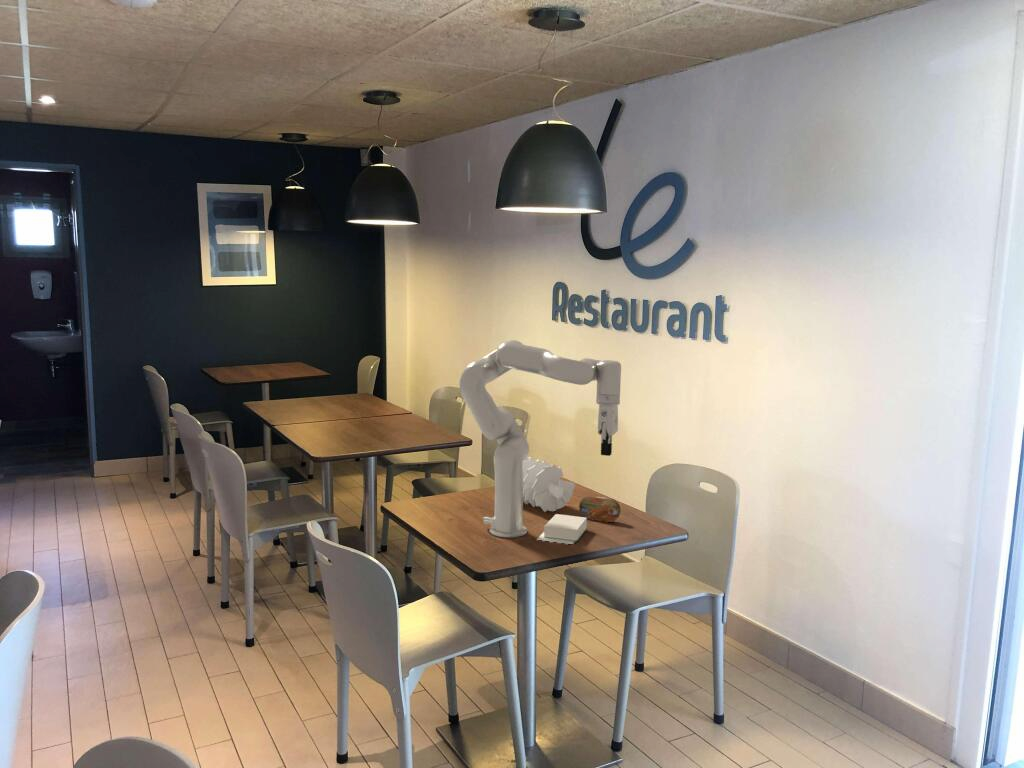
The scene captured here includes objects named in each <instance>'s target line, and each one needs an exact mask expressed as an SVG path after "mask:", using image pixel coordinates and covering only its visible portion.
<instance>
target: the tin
mask: <svg viewBox="0 0 1024 768" xmlns="http://www.w3.org/2000/svg"><path fill="white" fill-rule="evenodd" d="M578 509H579V512H580V514H581V517H585V518H588V519H587V520H589V519H593V520H592V521H596V520H598V521H597V522H602V521H604V522H603V523H608V522H610V523H612V522H613V523H614V522H616V520H618V519H619V517H620V514H621V506H620V504H619V502H618V501H617V500H616V499H613V498H610V497H604V496H603V497H601V496H596V495H595V496H594V495H587V496H585V497H583V498H582V499H581V501H580V502H579V505H578Z"/></svg>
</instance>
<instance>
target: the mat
mask: <svg viewBox="0 0 1024 768" xmlns="http://www.w3.org/2000/svg"><path fill="white" fill-rule="evenodd" d="M538 540H542V541H541V542H545V541H549V542H548V543H553V542H557V543H556V544H561V543H565V544H564V545H568V544H573V545H574V543H576V542H575V541H567V540H559V539H552V538H544V531H543V532H542V533H541V534H540V535H539V536H538V537H537V538H536V541H538Z"/></svg>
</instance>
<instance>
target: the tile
mask: <svg viewBox="0 0 1024 768" xmlns="http://www.w3.org/2000/svg"><path fill="white" fill-rule="evenodd" d="M587 520H588V519H587V518H585V517H583V516H576V515H568V514H561V513H560V514H558V513H555V514H554V515H553V517H552V518H550V520H548V522H547V523H546V524H545V525H544V526H543V528H544V529H543V532H544V538H552V539H559V540H567V541H575V542H574V543H576V542H577V541H579V539H580V538H581V537H582V535H583V534H585V532H586V530H587V524H588V523H587V522H588V521H587Z"/></svg>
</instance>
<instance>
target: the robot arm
mask: <svg viewBox="0 0 1024 768" xmlns="http://www.w3.org/2000/svg"><path fill="white" fill-rule="evenodd" d="M510 370H516V371H521V372H526V373H531V374H536V375H540V376H542V377H545V378H549V379H553V380H556V381H560V382H564V383H569V384H574V385H578V386H585V385H587V384H590V383H591V382H593V381H594V382H595V381H596V398H595V399H596V401H595V402H596V404H597V405H598V415H597V417H598V418H597V434H598V435H600V436H601V437H600V438H601V439H600V441H601V442H600V455H601V456H605V457H606V456H607V457H611V455H612V449H613V442H612V441H613V436H614V435H615V434H617V432H618V431H619V409H618V408H619V405H620V404H621V382H622V381H621V379H622V377H621V376H622V365H621V363H620V362H619V361H618V360H610V359H609V360H606V359H605V360H599V359H594V358H582V359H580V360H577V359H571V358H566V357H562V356H559V355H557V354H554V353H553V352H551V351H550V350H548V349H547V348H542V347H538V346H537V347H536V346H531V345H525V344H523V343H522V342H521V341H518V340H515V339H510V340H508V341H507V340H506V341H505V342H503V343H500V345H498V347H497V349H495V350H493V351H492V352H490V353H488V354H487V355H486V356H483V357H481V358H480V359H477V360H474V361H473V362H471V363H469V364H468V365H467V366H466V367H465V369H463V371H462V373H461V375H460V378H459V391H460V394H461V396H462V399H463V400H464V402H465V404H466V406H467V407H468V409H469V411H470V413H471V415H472V417H473V418H474V421H475V422H476V424H477V426H478V428H479V429H480V432H481V433H482V435H483V436H484V437H485V438H486V439H487V440H490V441H496V442H497V444H498V445H497V446H496V448H495V450H494V454H493V469H494V516H492V517H490V516H483V520H482V522H483V524H484V525H490V527H489V533H490V534H492V535H493V536H496V537H499V538H511V539H512V538H519V537H522V536H525V535H526V534H527V533H528V532H527V531H528V529H527V526H525V525H524V524H523V514H524V513H523V512H524V511H523V509H524V508H523V507H524V502H523V468H522V464H523V461H524V459H525V458H526V457H528V456H529V453H530V445H529V442H528V440H527V438H526V436H525V434H524V433H523V431H522V429H521V428H520V426H519V424H518V422H517V420H516V418H515V417H514V416H513V414H512V413H511V412H510V411H508V410H507V409H505V408H502V407H498V405H497V404H496V402H495V401H494V398H493V397H492V396H491V394H490V393H489V392H488V390H487V388H486V385H487V384H489V383H491V382H493V381H495V380H497V379H498V378H500V377H501V376H503V375H504V374H506V373H508V372H509V371H510Z"/></svg>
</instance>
